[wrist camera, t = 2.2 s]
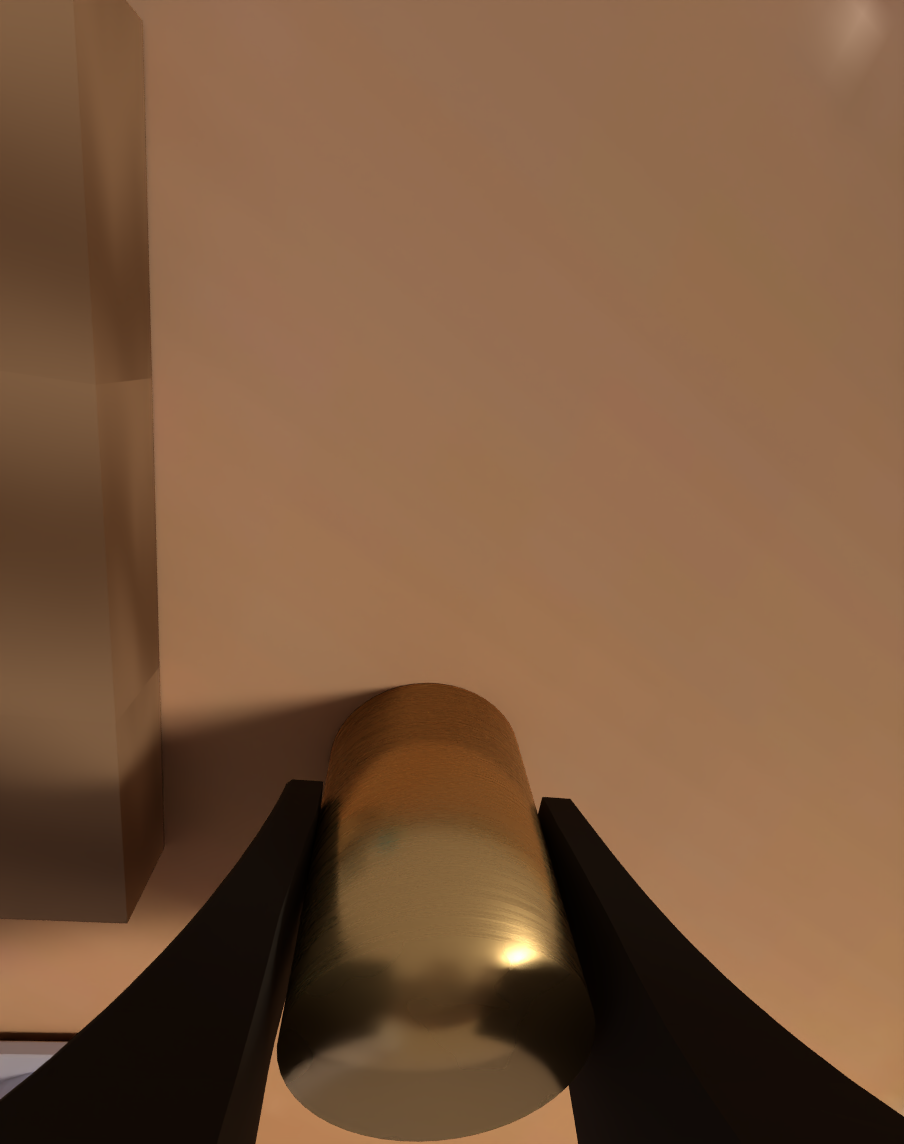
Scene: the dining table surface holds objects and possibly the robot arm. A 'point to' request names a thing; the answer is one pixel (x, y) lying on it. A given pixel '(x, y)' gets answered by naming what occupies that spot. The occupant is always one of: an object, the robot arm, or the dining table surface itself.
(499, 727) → the brass sleeve
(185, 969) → the robot arm
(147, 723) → the walnut jig
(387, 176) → the dining table surface
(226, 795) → the dining table surface
